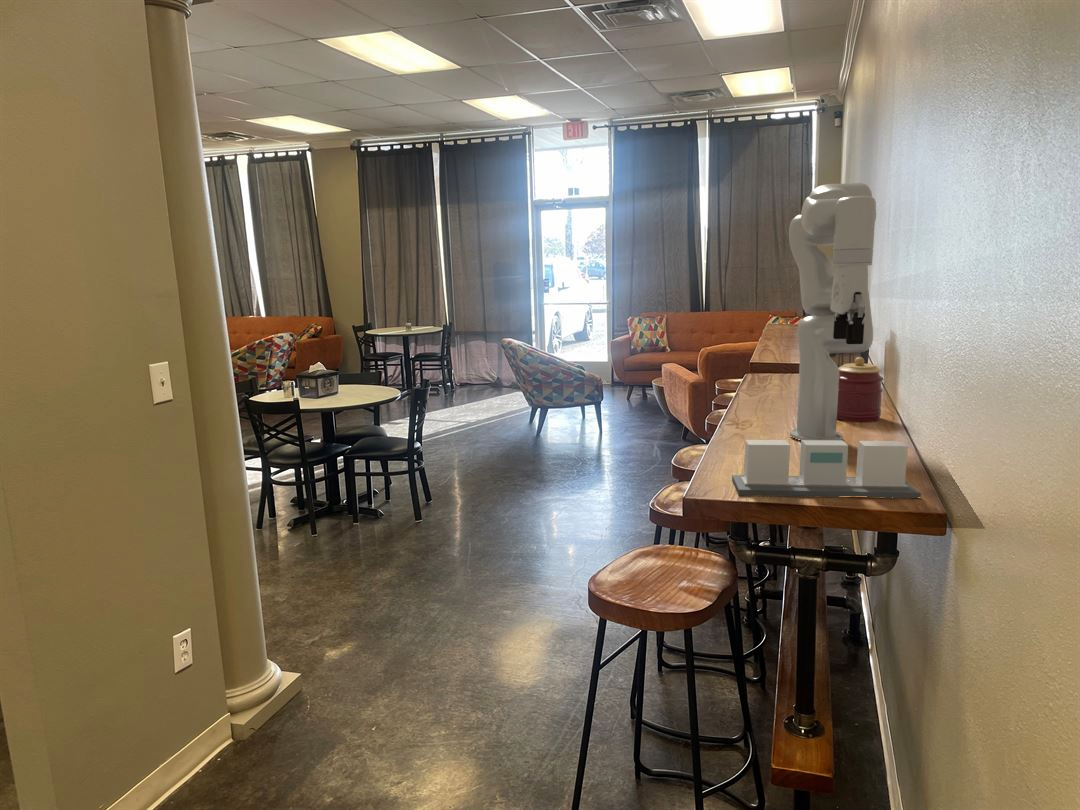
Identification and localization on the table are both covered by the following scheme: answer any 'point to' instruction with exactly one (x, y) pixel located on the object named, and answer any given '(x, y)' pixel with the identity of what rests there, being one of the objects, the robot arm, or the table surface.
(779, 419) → the table surface
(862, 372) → the canister
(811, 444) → the block
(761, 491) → the rail board
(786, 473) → the mounted modules
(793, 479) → the metal rail
